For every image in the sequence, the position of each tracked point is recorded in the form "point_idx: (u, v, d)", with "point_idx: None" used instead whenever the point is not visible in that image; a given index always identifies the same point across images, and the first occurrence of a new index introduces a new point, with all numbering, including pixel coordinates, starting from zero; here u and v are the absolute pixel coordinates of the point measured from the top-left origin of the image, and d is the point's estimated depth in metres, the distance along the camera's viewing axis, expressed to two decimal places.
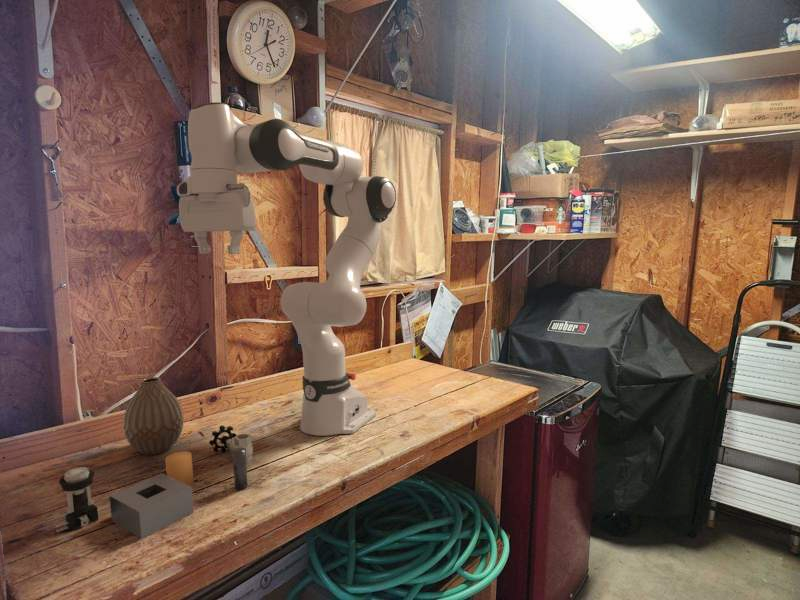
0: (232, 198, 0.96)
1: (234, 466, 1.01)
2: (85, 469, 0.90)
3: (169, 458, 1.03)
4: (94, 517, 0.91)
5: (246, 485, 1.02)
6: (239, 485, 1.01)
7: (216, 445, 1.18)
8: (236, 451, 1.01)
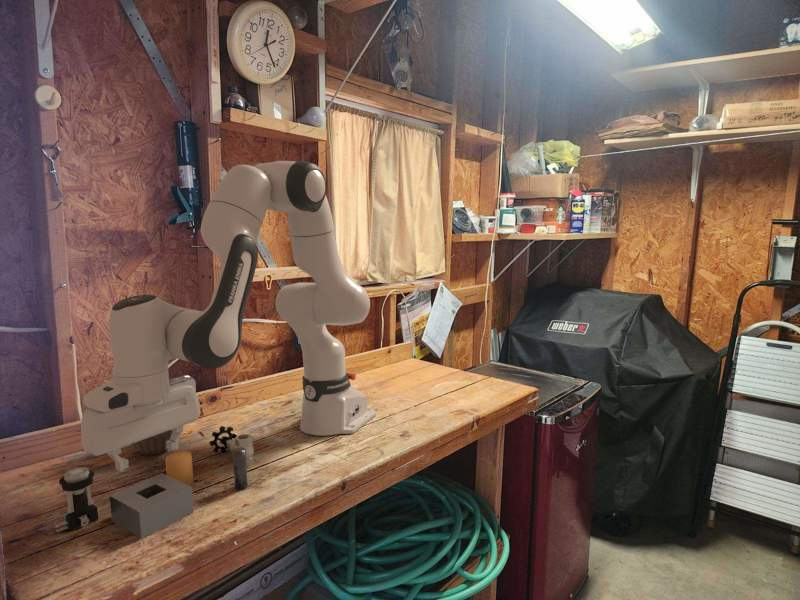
0: (188, 392, 0.95)
1: (234, 466, 1.01)
2: (85, 469, 0.90)
3: (169, 458, 1.03)
4: (94, 517, 0.91)
5: (246, 485, 1.02)
6: (239, 485, 1.01)
7: (216, 446, 1.18)
8: (236, 451, 1.01)
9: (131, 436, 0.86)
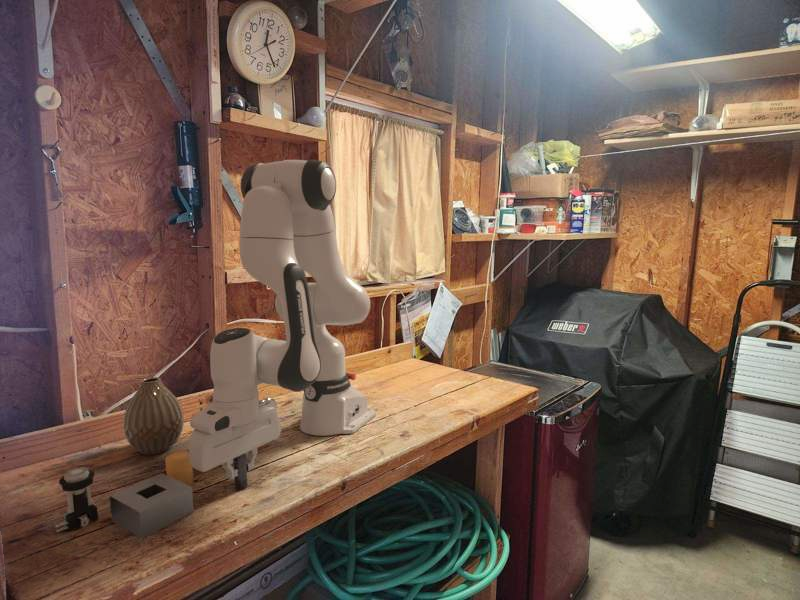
0: (272, 413, 1.06)
1: (234, 466, 1.01)
2: (85, 469, 0.90)
3: (169, 458, 1.03)
4: (94, 517, 0.91)
5: (246, 485, 1.02)
6: (239, 485, 1.01)
7: None
8: None
9: (229, 454, 0.98)
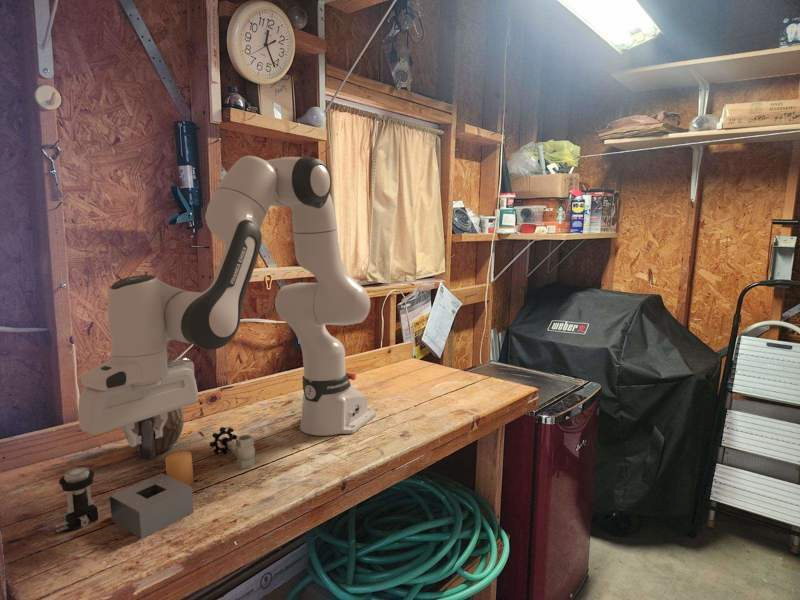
0: (186, 375, 0.94)
1: (138, 432, 0.89)
2: (85, 469, 0.90)
3: (169, 458, 1.03)
4: (94, 517, 0.91)
5: (153, 454, 0.90)
6: (143, 454, 0.89)
7: (217, 447, 1.17)
8: None
9: (129, 416, 0.85)
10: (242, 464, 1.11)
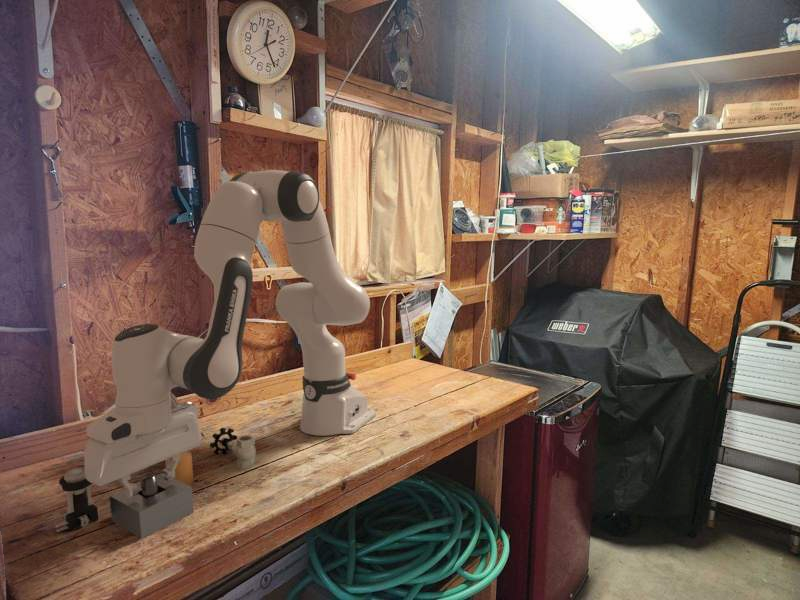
0: (190, 419, 0.95)
1: (143, 495, 0.91)
2: None
3: None
4: (94, 517, 0.91)
5: None
6: None
7: (217, 447, 1.17)
8: (144, 478, 0.90)
9: (134, 465, 0.87)
10: (243, 465, 1.10)
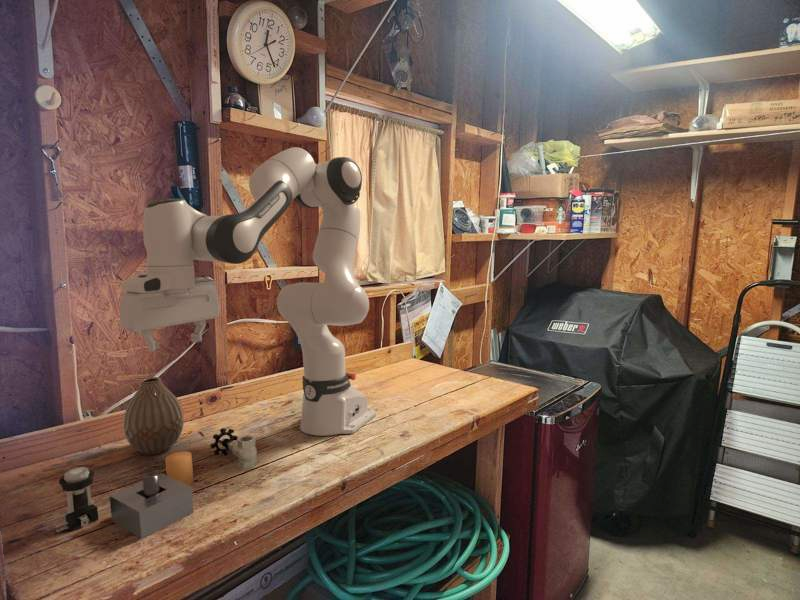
0: (210, 291, 1.07)
1: (144, 494, 0.91)
2: (85, 469, 0.90)
3: (169, 458, 1.03)
4: (94, 517, 0.91)
5: None
6: None
7: (217, 448, 1.16)
8: (146, 477, 0.91)
9: (162, 320, 0.98)
10: (244, 465, 1.10)
